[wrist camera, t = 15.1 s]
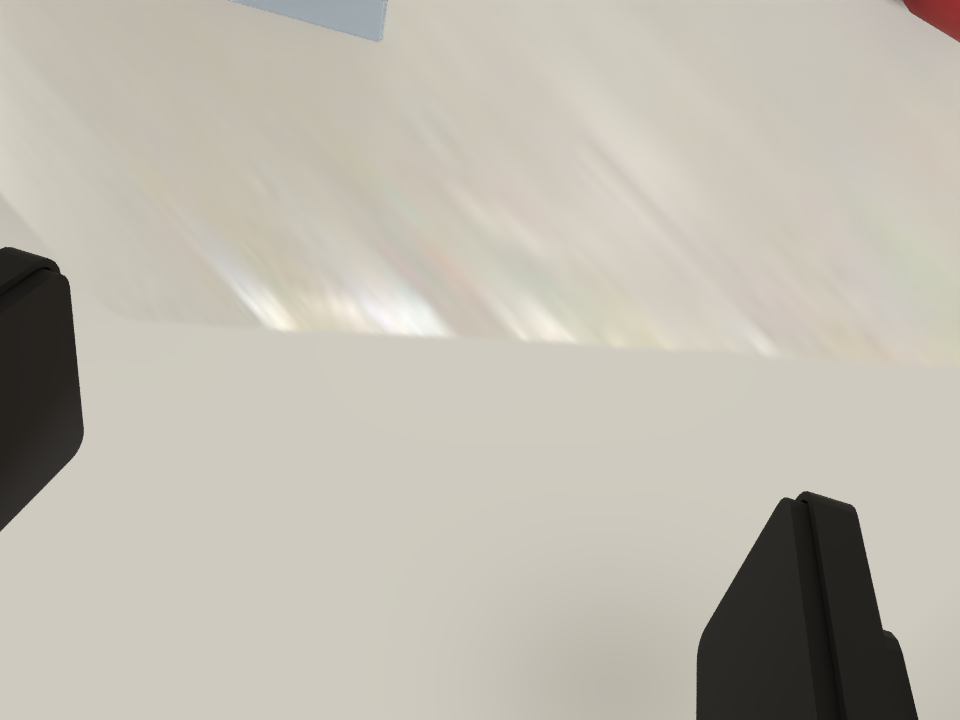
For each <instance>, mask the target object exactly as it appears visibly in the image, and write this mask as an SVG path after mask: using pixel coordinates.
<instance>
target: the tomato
mask: <svg viewBox="0 0 960 720" xmlns="http://www.w3.org/2000/svg"><path fill="white" fill-rule="evenodd" d="M903 2H904V3H905V5H906V6H907V8H908V9H909V11H910V12H911V13H912V14H914V15H916V16H917V17H919V18H921V19H922V20H924V21H926V22H927V23H929V24H931V25H932V26H934V27H935V28H937V29H939V30H940V31H942V32H944V33H945V34H947V35H949V36H950V37H952V38H954V39H955V40H957V41H958V42H960V0H903Z"/></svg>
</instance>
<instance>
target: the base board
mask: <svg viewBox="0 0 960 720" xmlns="http://www.w3.org/2000/svg"><path fill="white" fill-rule="evenodd" d="M229 1H232V2H236V3H240V4H243V5H247V6H250V7H254V8H257V9H261V10H265V11H268V12H272V13H275V14H279V15H282V16H286V17H290V18H293V19H297V20H300V21H304V22H308V23H311V24H315V25H318V26H322V27H325V28H329V29H333V30H336V31H340V32H343V33H347V34H350V35H354V36H358V37H361V38H365V39H368V40H372V41H375V42H379V41H381V40H382V35H383V28H384V20H385V12H386V5H387V0H229Z"/></svg>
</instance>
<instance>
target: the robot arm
mask: <svg viewBox="0 0 960 720" xmlns="http://www.w3.org/2000/svg"><path fill="white" fill-rule="evenodd" d="M83 435H84V427H83V418H82V407H81V396H80V387H79V377H78V366H77V355H76V346H75V335H74V325H73V314H72V304H71V294H70V285H69V282H68V279H67V278H66V277H65V276H63V275H62V274H61V273H60V269H59V267H58V266H57V264H56V263H55V262H54V261H52V260H50V259H48V258H45V257H42V256H38V255H35V254H32V253H29V252H25V251H21V250H18V249H15V248H12V247H4V248H2V249H0V531H1V530H2V529H3V528H4V527H5V526H6V525H7V524H8V523H9V522H10V521H11V520H12V519H13V518H14V517H15V516H16V515H17V514H18V513H19V512H20V511H21V510H22V509H23V508H24V507H25V506H26V505H27V504H28V503H29V502H30V501H31V500H32V499H33V498H34V497H35V496H36V495H37V494H38V493H39V492H40V491H41V490H42V489H43V488H44V486H46V485H47V484H48V482H49V481H50V480H51V479H52V478H53V477H54V476H55V475H56V474H57V473H58V472H59V471H60V470H61V469H62V468H63V467H64V466H65V465H66V464H67V463H68V462H69V461H70V460H71V459H72V458H73V457H74V456H75V454H76V453H77V451H78V449H79V448H80V445H81V443H82V439H83ZM696 714H697V716H696V720H918V717H917V712H916V708H915V704H914V699H913V695H912V691H911V687H910V683H909V678H908V675H907V670H906V666H905V662H904V658H903V653H902V650H901V648H900V645H899V642H898V640H897V639H896V637H895V636H894V635H893V634H892V633H891V632H889V631H885V630H883V628H882V624H881V619H880V615H879V610H878V606H877V601H876V597H875V592H874V588H873V583H872V578H871V574H870V569H869V565H868V560H867V556H866V551H865V547H864V542H863V538H862V533H861V528H860V524H859V519H858V515H857V512H856V509H855V508H854V507H853V506H852V505H851V504H847V503H843V502H841V501H837V500H834V499H831V498H828V497H824V496H821V495H818V494H815V493H811V492H808V491H806V492H802V493H801V494H800V495H799V496H798V497H797V498H796V500H793V499H790V498H783V499H782V500H781V501H780V502H779V503H778V505H777V506H776V508H775V510H774V512H773V513H772V515H771V517H770V518H769V520H768V522H767V524H766V525H765V527H764V529H763V530H762V532H761V534H760V536H759V537H758V539H757V541H756V542H755V544H754V546H753V547H752V549H751V551H750V552H749V554H748V556H747V558H746V559H745V561H744V563H743V564H742V566H741V568H740V570H739V571H738V573H737V575H736V576H735V578H734V580H733V582H732V583H731V585H730V587H729V588H728V590H727V592H726V593H725V595H724V597H723V599H722V600H721V602H720V604H719V605H718V607H717V609H716V611H715V612H714V614H713V616H712V617H711V619H710V621H709V623H708V624H707V626H706V628H705V629H704V631H703V633H702V636H701V639H700V643H699V647H698V653H697V710H696Z"/></svg>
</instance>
